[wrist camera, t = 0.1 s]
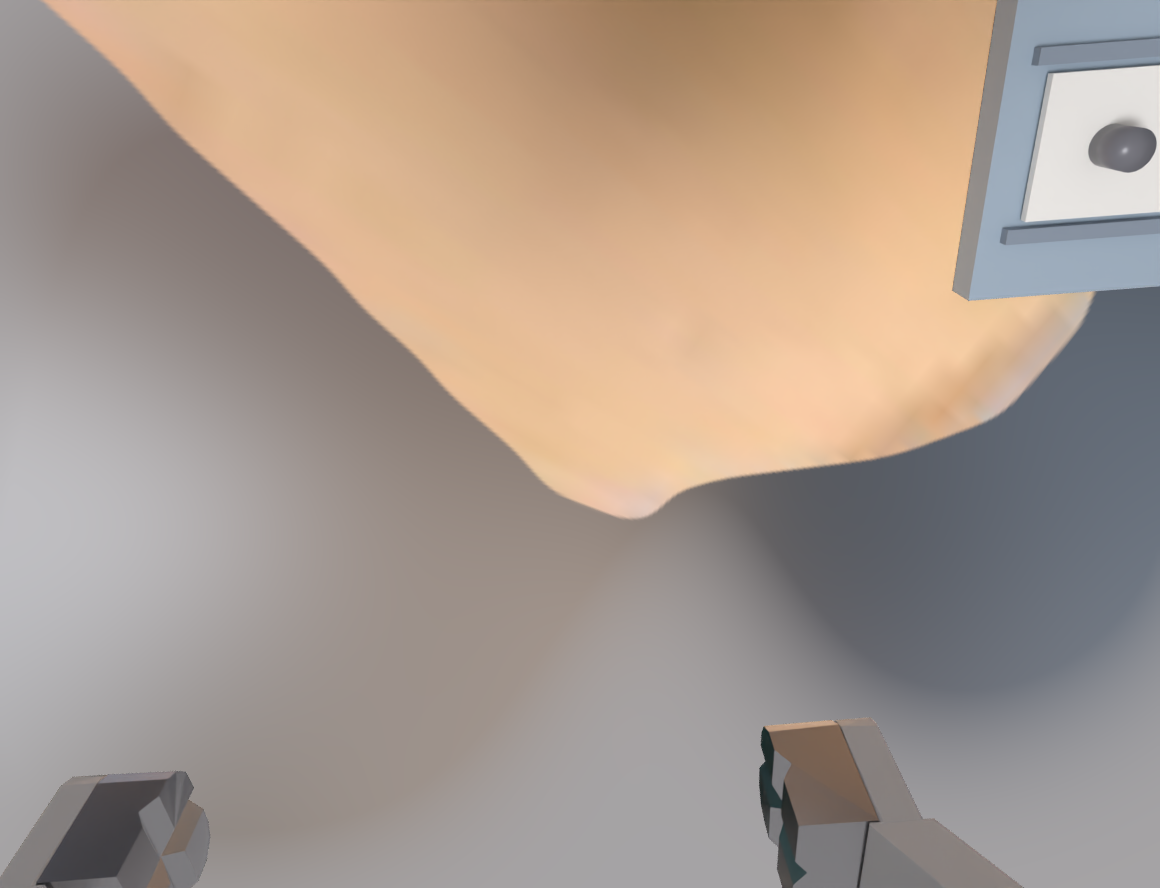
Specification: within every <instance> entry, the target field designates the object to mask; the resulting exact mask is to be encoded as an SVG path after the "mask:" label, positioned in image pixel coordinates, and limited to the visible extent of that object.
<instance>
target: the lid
mask: <svg viewBox="0 0 1160 888" xmlns="http://www.w3.org/2000/svg"><path fill="white" fill-rule="evenodd" d="M1151 212H1160V65H1148V66H1135V67H1122V68H1109V69H1096V70H1083V71H1070V72H1057V73H1048V77H1047V82H1046V88H1045V93H1044V98H1043V104H1042V109H1041V114H1040V120H1039V125H1038V130H1037V136H1036V141H1035V146H1034V151H1033V157H1032V162H1031V167H1030V173H1029V178H1028V183H1027V189H1026V194H1025V199H1024V205H1023V210H1022V215H1021V221H1024V222H1033V221H1046V220H1059V219H1072V218H1085V217H1098V216H1111V215H1124V214H1138V213H1151Z"/></svg>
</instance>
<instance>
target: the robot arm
mask: <svg viewBox="0 0 1160 888" xmlns="http://www.w3.org/2000/svg"><path fill="white" fill-rule="evenodd" d="M761 748H762V751H763V755H764V759H765V762H764V763H763V764H762V765H761V767H760V768H759V769H760V771H759V788H760V799H761V807H762V812H763V817H764V821H765V826H766V830H767V833H768V837H769V839H770V840H771V841H772V842H773V843H775V844H776V845H777V846H778V863H777V870H778V874H779V877H780V881H781V885H782V888H1024V887H1022V886H1021V885H1019V884H1018V883H1017V882H1016V881H1015V880H1013V879H1012V878H1011V877H1009V876H1008V875H1007V874H1005V873H1004V872H1003V871H1001V870H1000V869H999V868H998V867H996V866H995V865H994V864H992V863H991V862H990V861H988V860H987V859H986V858H985V857H983V856H982V855H981V854H979V853H978V852H977V851H975V850H974V849H973V848H972V847H970V846H969V845H968V844H966V843H965V842H964V841H963V840H961V839H960V838H959V837H957V836H956V835H955V834H953V833H952V832H951V831H950V830H948V829H947V828H946V827H944V826H943V825H942V824H940V823H939V822H938V821H936V820H935V819H923V818H922V816H921V814H920V812H919V810H918V808H917V806H916V804H915V802H914V800H913V798H912V795H911V793H910V791H909V789H908V787H907V785H906V783H905V781H904V779H903V777H902V775H901V773H900V771H899V769H898V766H897V765H896V763H895V760H894V758H893V756H892V754H891V752H890V750H889V748H888V746H887V744H886V742H885V740H884V737H883V735H882V733H881V731H880V729H879V727H878V725H877V723H876V722H875V721H874V720H873V719H871V718H858V719H845V720H835V721H832V720H827V721H817V722H805V723H793V724H782V725H771V726H764V727H763V730H762V734H761ZM193 789H194V787H193V785H192V783H191V781H190V779H189V777H188V775H187V773H186V772H183V771H170V772H148V773H128V774H108V775H97V776H79V777H72V778H71V779H70V780H68V781H67V782H65V783H64V784H63V785H61V787H60V788H59V789H58V791H57V792H56V794H55V795H54V797H53V798H52V800H51V801H50V803H49V804H48V806H47V807H46V809H45V810H44V812H43V813H42V815H41V816H40V818H39V819H38V821H37V822H36V824H35V825H34V827H33V828H32V830H31V831H30V833H29V835H28V836H27V837H26V839H25V840H24V842H23V843H22V845H21V846H20V848H19V850H18V851H17V853H16V854H15V856H14V857H13V859H12V860H11V862H10V863H9V865H8V866H7V868H6V869H5V871H4V872H3V874H2V875H1V877H0V888H191V887H192V886H193V885H194V884H195V883H197V882H198V881H199V878H200V876H201V873H202V871H203V868H204V866H205V863H206V861H207V855H208V849H209V842H210V831H209V824H208V823H209V822H208V819H207V817H206V815H205V812H204V809H202V808H201V807H199V806H198V805H196V804H195V803H193V802H192V801H190V800H189V797H190V795H191V793H192V791H193Z"/></svg>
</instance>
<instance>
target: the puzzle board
mask: <svg viewBox="0 0 1160 888" xmlns="http://www.w3.org/2000/svg"><path fill="white" fill-rule="evenodd" d="M1148 65H1160V0H997V6H996V13H995V19H994V26H993V32H992V39H991V45H990V52H989V58H988V64H987V71H986V77H985V84H984V90H983V97H982V103H981V110H980V116H979V122H978V129H977V135H976V142H975V148H974V155H973V161H972V168H971V174H970V180H969V187H968V193H967V200H966V206H965V213H964V219H963V226H962V232H961V238H960V245H959V251H958V258H957V264H956V271H955V277H954V284H953V290H952V291H954V292H955V293H957V294H959V295H960V296H962V297H963V298H965V299H967V300H968V301H970V300H984V299H997V298H1010V297H1023V296H1036V295H1049V294H1062V293H1075V292H1089V291H1100V290H1114V289H1127V288H1141V287H1153V286H1160V212H1151V213H1138V214H1124V215H1111V216H1098V217H1085V218H1072V219H1059V220H1046V221H1033V222H1024V221H1021V215H1022V210H1023V205H1024V199H1025V194H1026V189H1027V183H1028V178H1029V173H1030V167H1031V162H1032V157H1033V151H1034V146H1035V141H1036V136H1037V130H1038V125H1039V120H1040V114H1041V109H1042V104H1043V98H1044V93H1045V88H1046V82H1047V77H1048V73H1057V72H1070V71H1083V70H1096V69H1109V68H1122V67H1135V66H1148Z"/></svg>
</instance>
